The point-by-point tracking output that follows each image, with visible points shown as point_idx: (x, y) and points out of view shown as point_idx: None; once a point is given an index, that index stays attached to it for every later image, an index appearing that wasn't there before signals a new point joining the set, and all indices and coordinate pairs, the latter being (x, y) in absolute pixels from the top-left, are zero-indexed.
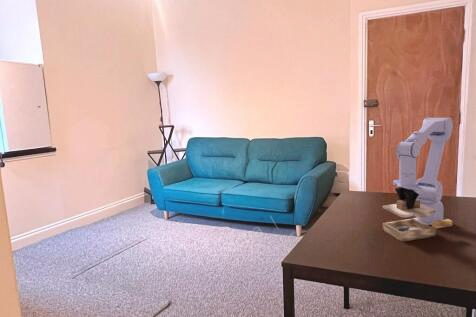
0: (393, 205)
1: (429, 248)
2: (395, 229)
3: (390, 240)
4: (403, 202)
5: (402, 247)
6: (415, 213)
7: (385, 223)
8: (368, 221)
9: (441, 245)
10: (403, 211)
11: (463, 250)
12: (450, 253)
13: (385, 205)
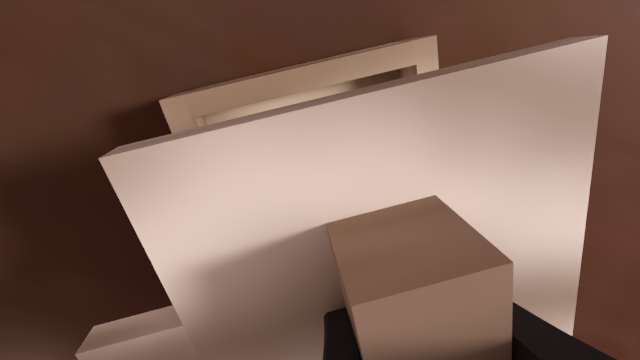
0: (543, 195)
1: (81, 216)
2: (270, 85)
3: (216, 17)
4: (366, 338)
5: (80, 52)
6: (175, 332)
7: (419, 57)
8: (600, 5)
9: (133, 289)
10: (273, 229)
11: (71, 355)
12: (17, 291)
13: (593, 85)
